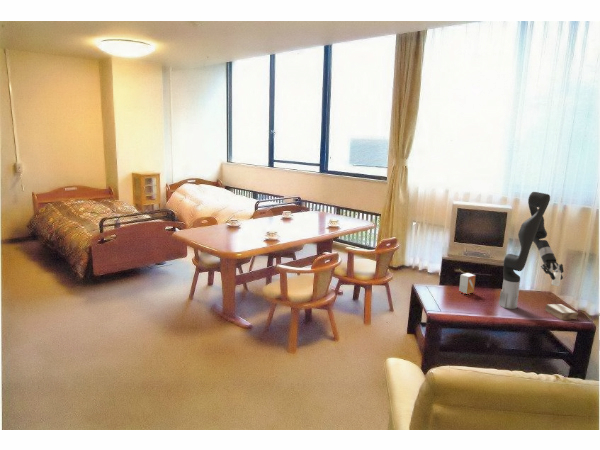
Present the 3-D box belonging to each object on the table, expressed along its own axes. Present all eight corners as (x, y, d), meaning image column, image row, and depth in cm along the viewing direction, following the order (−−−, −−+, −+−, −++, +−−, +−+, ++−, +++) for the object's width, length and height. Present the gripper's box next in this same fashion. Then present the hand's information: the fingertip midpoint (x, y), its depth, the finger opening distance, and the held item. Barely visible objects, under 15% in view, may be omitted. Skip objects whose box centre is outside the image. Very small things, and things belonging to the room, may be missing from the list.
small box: (466, 295, 286) (468, 276, 284) (458, 292, 292) (460, 274, 289) (474, 293, 291) (475, 275, 288) (465, 290, 296) (467, 272, 293)
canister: (554, 286, 267) (556, 273, 265) (549, 283, 271) (551, 271, 270) (561, 285, 267) (563, 273, 266) (556, 283, 272) (557, 271, 270)
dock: (561, 319, 249) (562, 313, 248) (545, 310, 263) (546, 304, 262) (577, 319, 250) (578, 312, 249) (560, 310, 264) (561, 303, 263)
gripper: (540, 252, 273) (550, 276, 263) (560, 252, 275) (572, 276, 265) (533, 258, 279) (543, 282, 270) (554, 258, 281) (564, 281, 271)
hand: (557, 279), depth 267 cm, fingers closed on canister, 4 cm apart
